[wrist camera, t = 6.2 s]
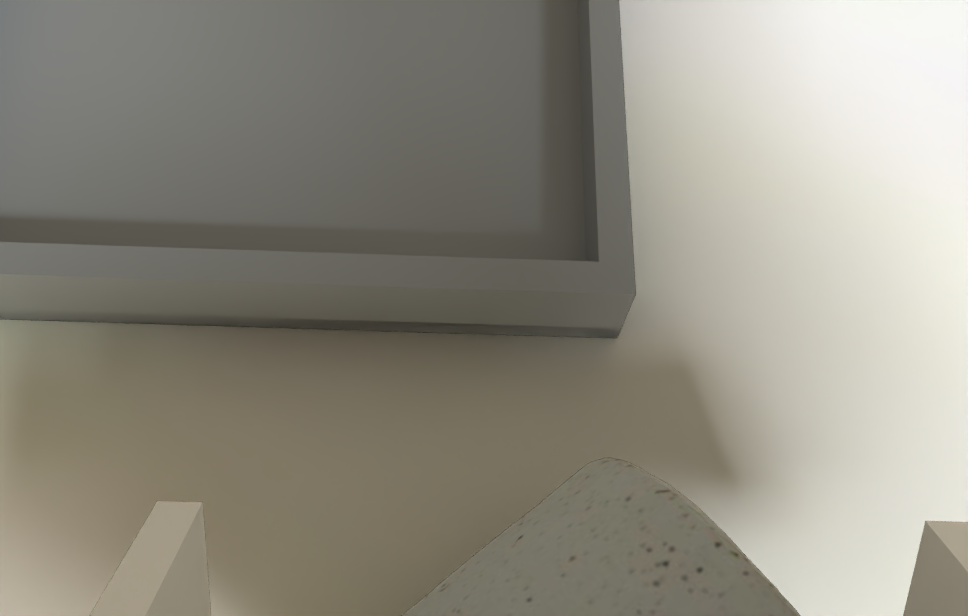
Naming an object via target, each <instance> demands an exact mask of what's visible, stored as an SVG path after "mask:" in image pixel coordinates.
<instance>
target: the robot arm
mask: <svg viewBox="0 0 968 616" xmlns="http://www.w3.org/2000/svg"><path fill="white" fill-rule="evenodd" d="M90 616H211V605H210V592H209V579H208V566H207V553H206V540H205V526H204V513H203V502H178V501H157V502H156V504H155V506H154V507H153V509H152V511H151V513H150V514H149V516H148V518H147V519H146V521H145V523H144V524H143V526H142V528H141V529H140V531H139V533H138V535H137V536H136V538H135V540H134V541H133V543H132V545H131V546H130V548H129V550H128V551H127V553H126V555H125V557H124V558H123V560H122V562H121V563H120V565H119V567H118V568H117V570H116V572H115V573H114V575H113V577H112V578H111V580H110V582H109V584H108V585H107V587H106V589H105V590H104V592H103V594H102V595H101V597H100V599H99V600H98V602H97V604H96V606H95V607H94V609H93V611H92V612H91V614H90ZM903 616H968V522H946V521H925V525H924V530H923V534H922V538H921V542H920V547H919V551H918V555H917V559H916V564H915V568H914V572H913V576H912V581H911V585H910V589H909V593H908V598H907V602H906V606H905V610H904V615H903Z"/></svg>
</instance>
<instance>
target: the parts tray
mask: <svg viewBox="0 0 968 616" xmlns="http://www.w3.org/2000/svg"><path fill="white" fill-rule="evenodd" d="M635 295H636V289H635V272H634V255H633V237H632V220H631V202H630V185H629V167H628V150H627V133H626V115H625V98H624V80H623V63H622V46H621V28H620V11H619V0H0V319H12V320H45V321H77V322H109V323H142V324H174V325H207V326H239V327H272V328H304V329H337V330H369V331H401V332H434V333H466V334H499V335H531V336H564V337H596V338H617V337H618V335H619V333H620V330H621V328H622V326H623V323H624V321H625V319H626V316H627V314H628V312H629V309H630V307H631V304H632V302H633V300H634V297H635Z"/></svg>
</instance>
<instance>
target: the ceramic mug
mask: <svg viewBox="0 0 968 616" xmlns="http://www.w3.org/2000/svg"><path fill="white" fill-rule="evenodd" d="M401 616H800V614H799V613H798V612H797V611H796V609H795V608H794V607H793V606H792V605H791V604H790V603H789V602H788V601H787V600H786V599H785V598H784V596H783V595H782V594H781V593H780V592H779V591H778V589H777V588H776V587H775V586H774V585H773V584H772V583H771V582H770V581H769V580H768V579H767V578H766V577H765V576H764V575H763V574H762V573H761V571H760V570H759V569H758V568H757V567H756V566H755V565H754V564H753V563H752V562H751V561H750V560H749V559H748V558H747V557H746V555H745V554H744V553H743V552H742V551H741V550H740V549H739V548H738V547H737V545H736V544H735V543H734V542H733V541H732V540H731V539H730V538H729V537H728V536H727V535H726V534H725V533H724V532H723V531H722V530H721V529H720V528H719V527H718V526H717V525H716V524H715V523H714V522H713V521H712V520H711V519H710V518H709V517H708V516H707V515H706V514H705V513H704V512H703V511H701V510H700V509H699V508H698V507H697V506H696V505H695V504H694V503H693V502H691V501H690V500H689V499H688V498H686V497H685V496H684V495H682V494H681V493H680V492H678V491H677V490H676V489H674V488H673V487H671V486H670V485H669V484H667V483H666V482H664V481H662V480H660V479H658V478H656V477H654V476H652V475H650V474H649V473H647V472H645V471H644V470H642V469H641V468H639V467H637V466H635V465H633V464H631V463H629V462H627V461H623V460H619V459H614V458H603V459H599V460H595V461H592V462H590V463H588V464H587V465H586V466H584V467H583V468H582V469H580V470H579V471H578V472H577V473H575V474H574V475H573V476H572V477H570V478H569V479H568V480H567V481H566V482H564V483H563V484H562V485H561V486H560V487H558V488H557V489H556V490H555V491H554V492H553V493H551V494H550V495H549V496H548V497H547V498H545V499H544V500H543V501H542V502H541V503H540V504H538V505H537V506H536V507H535V508H533V509H532V510H531V511H529V512H528V513H527V514H526V515H524V516H523V517H522V518H520V519H519V520H518V521H516V522H515V523H514V524H513V525H511V526H510V527H509V528H507V529H506V530H505V531H504V532H502V533H501V534H500V535H499V536H497V537H496V538H495V539H494V540H492V541H491V542H490V543H489V544H487V545H486V546H485V547H484V548H482V549H481V550H480V551H479V552H478V553H476V554H475V555H474V556H473V557H471V558H470V559H469V560H468V561H466V562H465V563H464V564H463V565H462V566H460V567H459V568H458V569H457V570H456V571H454V572H453V573H452V574H451V575H450V576H448V577H447V578H446V579H445V580H444V581H443V582H441V583H440V584H439V585H438V586H437V587H435V588H434V589H433V590H432V591H431V592H430V593H428V594H427V595H426V596H425V597H424V598H423V599H422V600H420V601H419V602H418V603H417V604H416V605H414V606H413V607H412V608H410V609H409V610H408V611H406V612H405V613H404V614H403V615H401Z"/></svg>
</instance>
